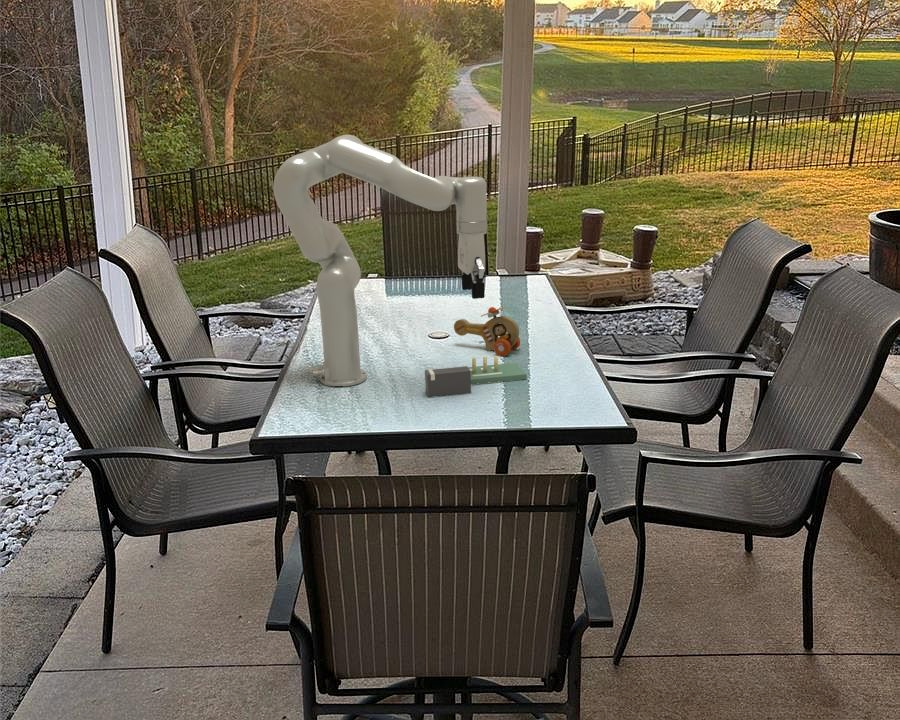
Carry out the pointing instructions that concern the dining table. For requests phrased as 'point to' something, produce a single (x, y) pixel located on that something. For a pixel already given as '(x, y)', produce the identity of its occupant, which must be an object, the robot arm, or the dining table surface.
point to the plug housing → (447, 381)
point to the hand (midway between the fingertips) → (473, 293)
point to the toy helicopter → (493, 332)
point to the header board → (495, 372)
